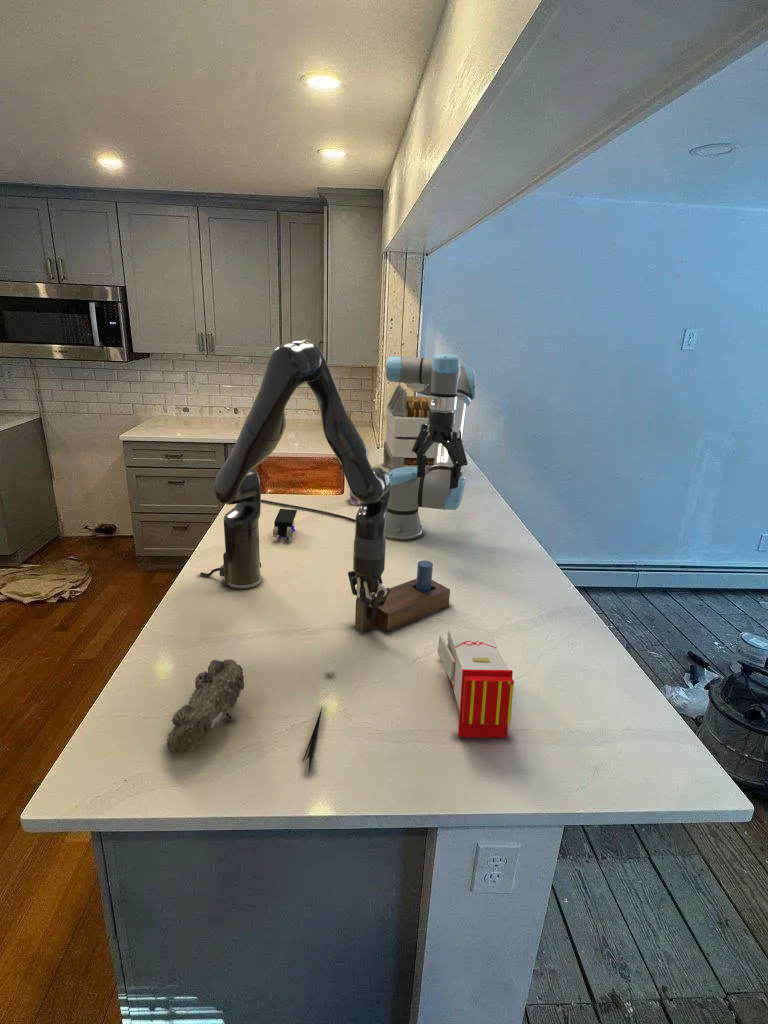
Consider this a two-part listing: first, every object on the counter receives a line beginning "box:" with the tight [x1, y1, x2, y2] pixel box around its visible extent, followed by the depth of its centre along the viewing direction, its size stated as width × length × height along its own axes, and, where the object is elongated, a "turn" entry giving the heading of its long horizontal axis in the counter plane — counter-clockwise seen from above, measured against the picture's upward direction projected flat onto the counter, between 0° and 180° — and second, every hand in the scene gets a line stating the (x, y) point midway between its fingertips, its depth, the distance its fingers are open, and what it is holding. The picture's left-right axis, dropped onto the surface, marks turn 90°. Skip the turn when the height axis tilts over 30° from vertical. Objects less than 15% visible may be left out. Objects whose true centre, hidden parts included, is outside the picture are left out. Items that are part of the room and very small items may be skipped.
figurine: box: [348, 489, 361, 506], centre depth 228 cm, size 9×10×15 cm
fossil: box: [166, 658, 245, 754], centre depth 106 cm, size 22×10×15 cm
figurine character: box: [272, 508, 298, 542], centre depth 192 cm, size 7×8×15 cm
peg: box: [416, 560, 434, 593], centre depth 151 cm, size 4×4×12 cm
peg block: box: [354, 578, 451, 633], centre depth 146 cm, size 10×27×8 cm, turn 131°
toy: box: [437, 628, 515, 738], centre depth 117 cm, size 12×13×30 cm
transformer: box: [383, 384, 465, 472], centre depth 268 cm, size 34×33×41 cm
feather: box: [301, 673, 332, 771], centre depth 108 cm, size 2×28×2 cm
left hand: (367, 615), depth 140 cm, fingers closed on peg block, 3 cm apart
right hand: (436, 482), depth 168 cm, fingers open, 13 cm apart
